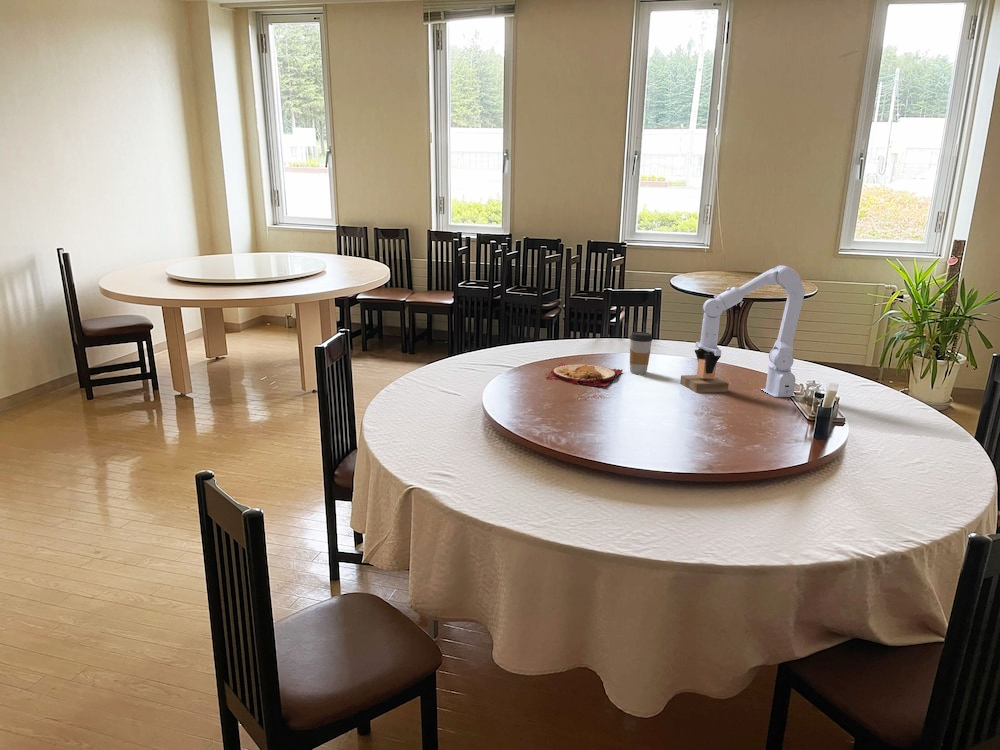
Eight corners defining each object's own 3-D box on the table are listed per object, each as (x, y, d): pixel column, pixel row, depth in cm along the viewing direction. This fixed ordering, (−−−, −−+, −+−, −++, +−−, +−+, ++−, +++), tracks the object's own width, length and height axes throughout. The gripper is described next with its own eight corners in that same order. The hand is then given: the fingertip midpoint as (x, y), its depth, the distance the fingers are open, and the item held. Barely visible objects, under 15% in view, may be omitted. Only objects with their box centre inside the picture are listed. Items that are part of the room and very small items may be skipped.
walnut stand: (727, 391, 247) (728, 383, 246) (696, 392, 244) (697, 384, 243) (710, 382, 258) (711, 374, 257) (680, 383, 255) (681, 375, 254)
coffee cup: (651, 375, 265) (654, 336, 262) (628, 374, 265) (632, 335, 262) (647, 370, 273) (650, 332, 270) (625, 369, 273) (628, 331, 270)
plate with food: (622, 374, 268) (623, 365, 267) (605, 389, 244) (606, 379, 243) (560, 367, 277) (561, 358, 276) (538, 380, 253) (539, 371, 252)
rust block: (714, 378, 248) (716, 361, 247) (702, 378, 247) (704, 361, 246) (708, 375, 253) (710, 358, 251) (696, 375, 252) (698, 358, 250)
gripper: (689, 329, 252) (685, 366, 255) (709, 337, 238) (705, 376, 242) (707, 329, 254) (703, 366, 257) (728, 337, 240) (723, 376, 243)
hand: (705, 371), depth 249 cm, fingers closed on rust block, 4 cm apart
